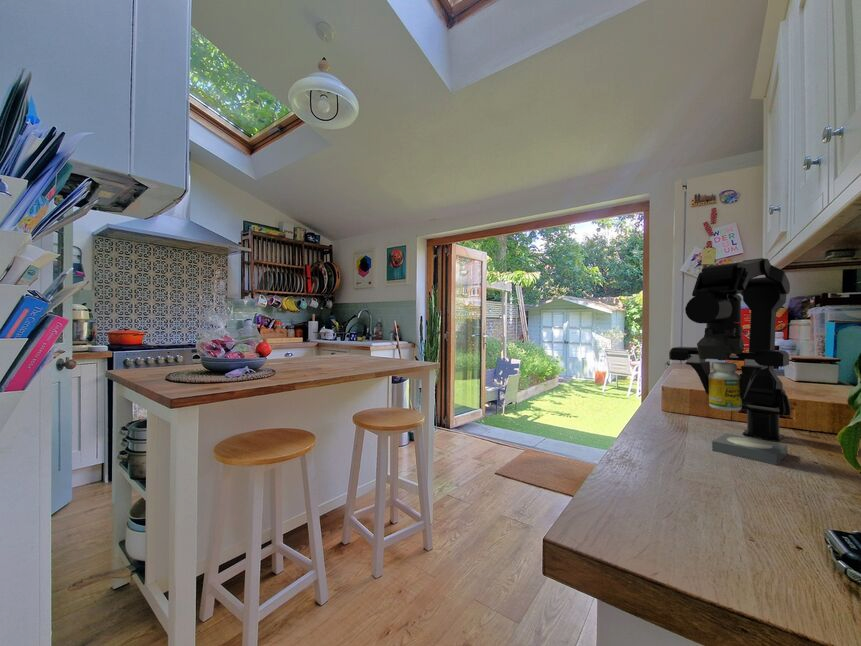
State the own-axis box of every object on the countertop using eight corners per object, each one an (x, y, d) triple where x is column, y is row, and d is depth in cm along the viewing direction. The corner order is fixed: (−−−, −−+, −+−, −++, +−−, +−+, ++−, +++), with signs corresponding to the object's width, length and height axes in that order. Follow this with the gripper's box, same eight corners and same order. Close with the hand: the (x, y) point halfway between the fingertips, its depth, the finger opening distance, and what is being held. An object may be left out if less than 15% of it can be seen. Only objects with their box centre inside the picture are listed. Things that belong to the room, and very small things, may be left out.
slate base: (726, 441, 81) (726, 432, 81) (787, 454, 73) (787, 444, 73) (712, 450, 75) (712, 440, 75) (776, 465, 67) (776, 454, 67)
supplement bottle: (724, 404, 77) (723, 361, 77) (749, 410, 71) (748, 364, 71) (702, 405, 76) (701, 362, 76) (726, 411, 71) (725, 364, 71)
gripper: (658, 324, 77) (659, 394, 77) (775, 322, 62) (777, 410, 61) (678, 323, 83) (679, 388, 83) (788, 322, 68) (790, 401, 68)
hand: (725, 396), depth 74 cm, fingers closed on supplement bottle, 5 cm apart
